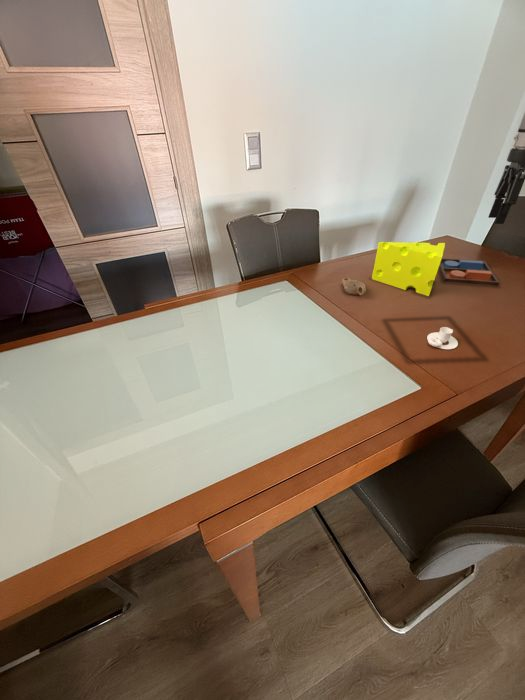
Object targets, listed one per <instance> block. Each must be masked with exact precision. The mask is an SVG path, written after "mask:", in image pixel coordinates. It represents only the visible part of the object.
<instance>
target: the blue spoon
mask: <svg viewBox="0 0 525 700" xmlns="http://www.w3.org/2000/svg"><path fill="white" fill-rule="evenodd" d="M472 260H473V259H462V260H460V261H459V263H458V262H456V261H445V263H444V267H446V268H466V269H482V266H483V264H484V263H483V261H484V260H479V261H472Z"/></svg>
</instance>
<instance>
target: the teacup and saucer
mask: <svg viewBox="0 0 525 700" xmlns="http://www.w3.org/2000/svg"><path fill="white" fill-rule="evenodd" d="M453 333H454V329H453V328H451V327H447V326H441V327H440V328H439V331H437V332H436V331H435V332H430V333H428V334H427V337H426V340H427V343H428V344H429V345H430V346H432V347H434V348H438V349H442V350H453V349H456V348H457V347H459V342H458V340H457V339H456V338H455V337H453V336H452V334H453ZM447 342H448V344H446V343H447Z"/></svg>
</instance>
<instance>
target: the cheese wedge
mask: <svg viewBox="0 0 525 700" xmlns="http://www.w3.org/2000/svg"><path fill="white" fill-rule="evenodd" d="M445 247H446V242H438V243H437V245H436V244H435V245H434V244H431V243H430V242H409V241H408V242H407V241H405V242H403V241H402V242H401V241H399V242H398V241H378V245H377V249H376V255H375V259H374V264H373V270H372V275H371V280H373V281H376V282H379V283H383V284H385V285H389V286H392V287H395V288H398V289H400V290H404V291H407V290H408V289H409V288H413V289H415V293H417V294H420V295H424V296H427V297H430V294H431V291H432V288H433V284H434V282H435V280H436V277H437V274H438V271H439V265H440V262H441V259H442V258H443V255H444V250H445Z"/></svg>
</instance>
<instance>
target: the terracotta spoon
mask: <svg viewBox="0 0 525 700" xmlns="http://www.w3.org/2000/svg"><path fill="white" fill-rule="evenodd" d="M491 271H492V270H491ZM491 271H479V270H466V273H464V272H462V271H458V270H454V271H451V272H450V275H449V276H450V277H451V278H457V279H464V278H467V279H480V280H490V278H491V276H492V273H491Z"/></svg>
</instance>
